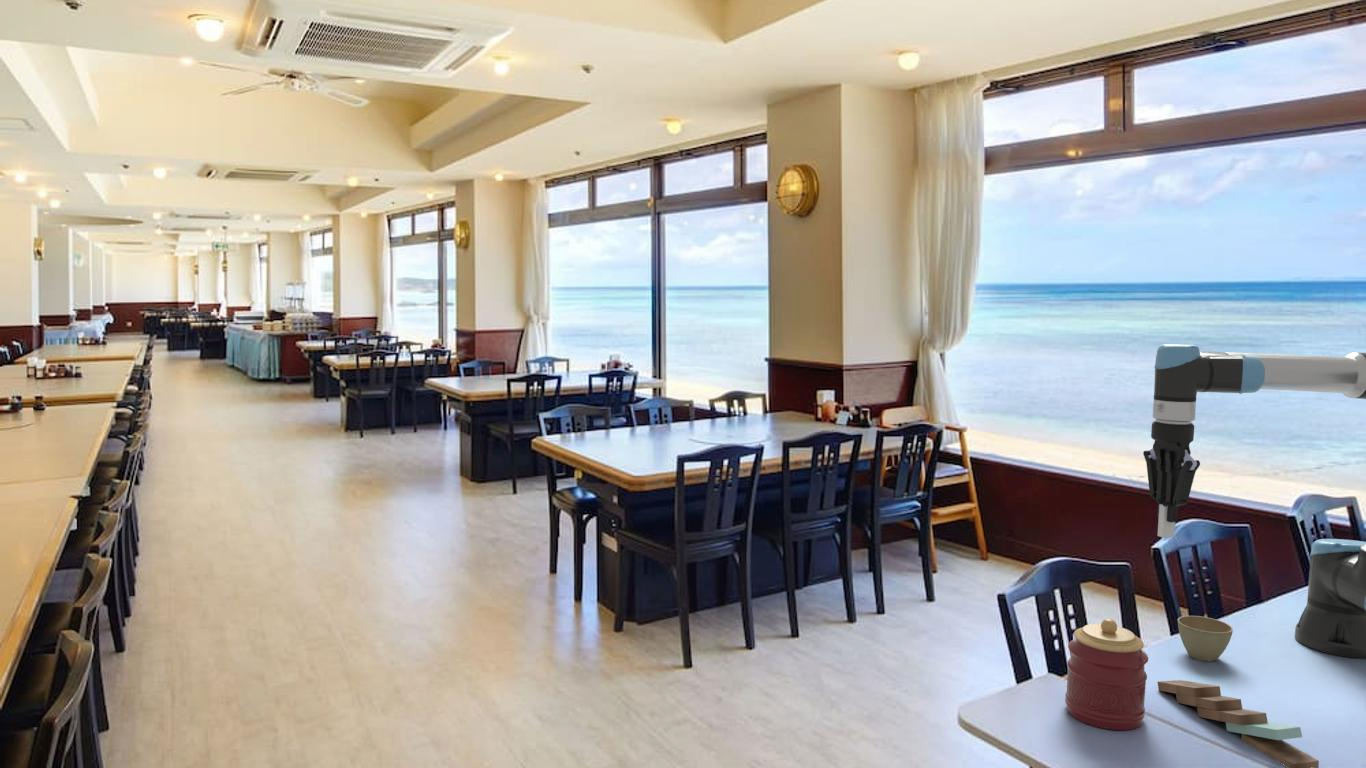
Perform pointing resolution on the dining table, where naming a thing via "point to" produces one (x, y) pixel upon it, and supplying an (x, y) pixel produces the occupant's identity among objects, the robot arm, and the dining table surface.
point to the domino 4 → (1267, 730)
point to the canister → (1106, 677)
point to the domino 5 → (1281, 751)
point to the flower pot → (1204, 636)
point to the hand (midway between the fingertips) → (1165, 536)
